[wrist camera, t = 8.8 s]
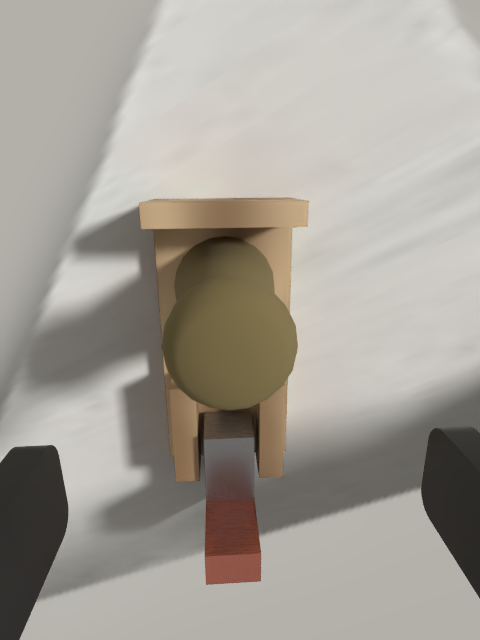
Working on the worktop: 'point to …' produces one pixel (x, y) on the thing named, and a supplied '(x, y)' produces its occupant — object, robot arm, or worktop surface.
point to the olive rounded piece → (228, 327)
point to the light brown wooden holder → (170, 247)
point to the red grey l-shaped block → (230, 499)
